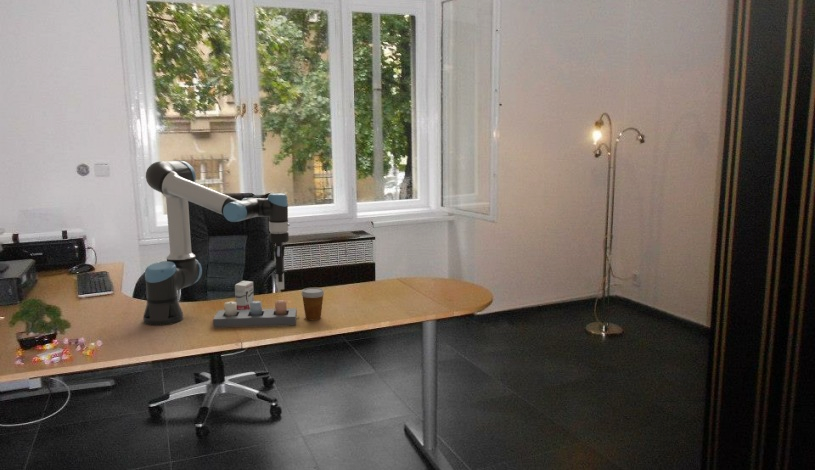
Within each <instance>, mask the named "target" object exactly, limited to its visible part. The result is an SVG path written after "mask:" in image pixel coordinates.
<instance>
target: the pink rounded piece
mask: <svg viewBox="0 0 815 470" xmlns="http://www.w3.org/2000/svg"><path fill="white" fill-rule="evenodd" d="M287 306H288V305H287V300H282V299H281V300H275V301H274V307H275V308H274V309H275V314H276V315H285V314H287Z"/></svg>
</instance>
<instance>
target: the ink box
mask: <svg viewBox="0 0 815 470" xmlns="http://www.w3.org/2000/svg"><path fill="white" fill-rule="evenodd" d="M234 298H235V299H234V300H235V301H234V302H236V303H237V310H250V302H252V301H255V299H254V298H255V295H254V281H249V280H241V281H240V282H238V283H236V284H235V285H234Z"/></svg>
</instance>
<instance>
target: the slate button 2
mask: <svg viewBox="0 0 815 470" xmlns="http://www.w3.org/2000/svg"><path fill="white" fill-rule="evenodd" d="M262 305H263V304H262V301H261V300H254V301H252V302H250V309H249V310H250V315H252V316H259V315H262V309H263V306H262Z"/></svg>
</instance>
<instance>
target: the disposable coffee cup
mask: <svg viewBox="0 0 815 470" xmlns="http://www.w3.org/2000/svg"><path fill="white" fill-rule="evenodd" d="M324 295H325V291H324V289H323V288H320V287H307V288H303V289H302V290H301V296H302V301H303V310H304V315H305V317H304V318H305V319H306V320H309V321H317V320H320V319H321V317H322V310H323V309H322V308H323V301H324V300H323V299H324Z"/></svg>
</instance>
